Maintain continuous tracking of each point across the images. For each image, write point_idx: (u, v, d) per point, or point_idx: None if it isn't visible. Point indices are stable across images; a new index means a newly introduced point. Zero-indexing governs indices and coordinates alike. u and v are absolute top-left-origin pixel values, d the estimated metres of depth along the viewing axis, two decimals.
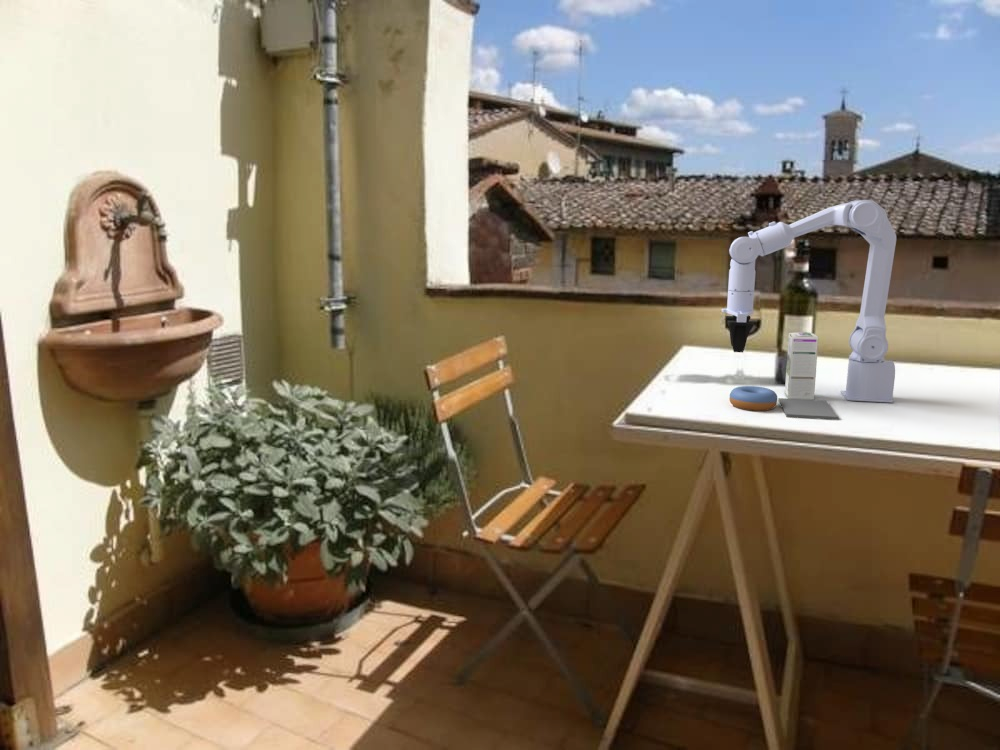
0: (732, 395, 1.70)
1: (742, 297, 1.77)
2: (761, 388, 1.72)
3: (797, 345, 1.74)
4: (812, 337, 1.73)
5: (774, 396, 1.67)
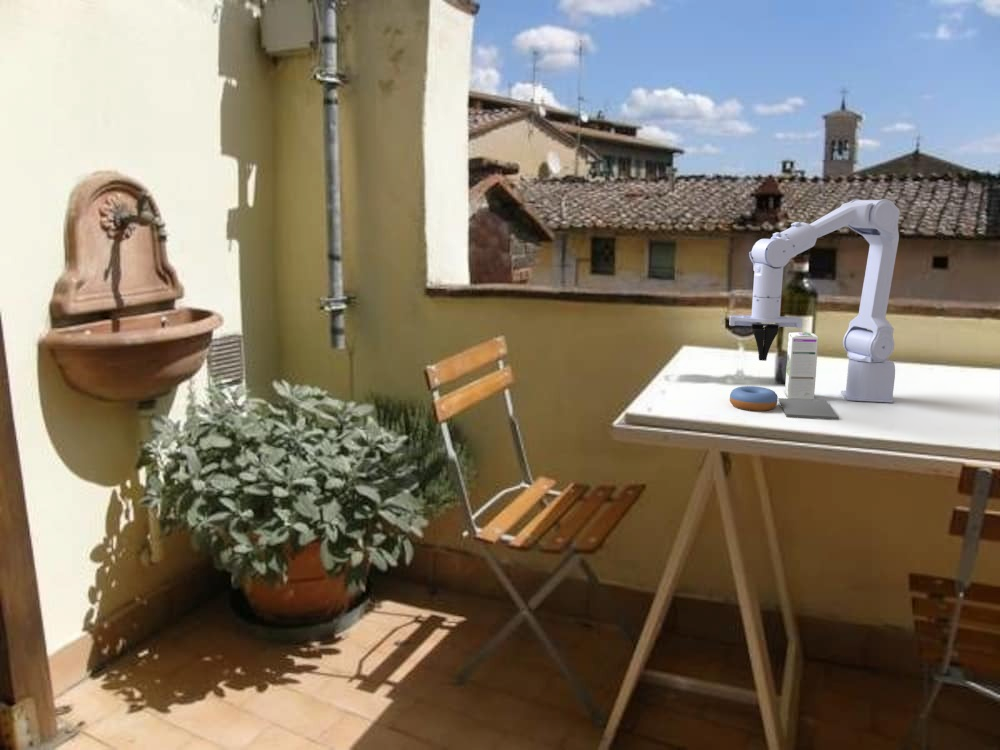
0: (732, 395, 1.70)
1: (752, 302, 1.66)
2: (761, 388, 1.72)
3: (797, 345, 1.74)
4: (812, 337, 1.73)
5: (774, 396, 1.67)
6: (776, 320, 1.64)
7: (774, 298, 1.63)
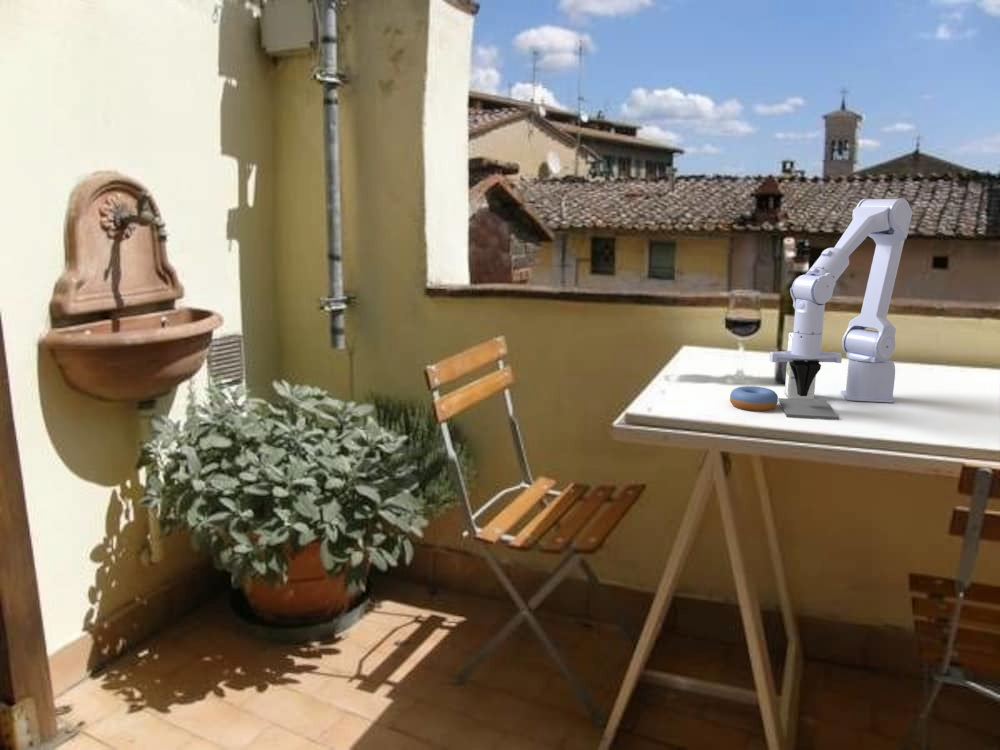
0: (733, 395, 1.70)
1: (793, 338, 1.66)
2: (762, 388, 1.72)
3: None
4: None
5: (775, 396, 1.67)
6: (819, 356, 1.64)
7: (818, 334, 1.63)
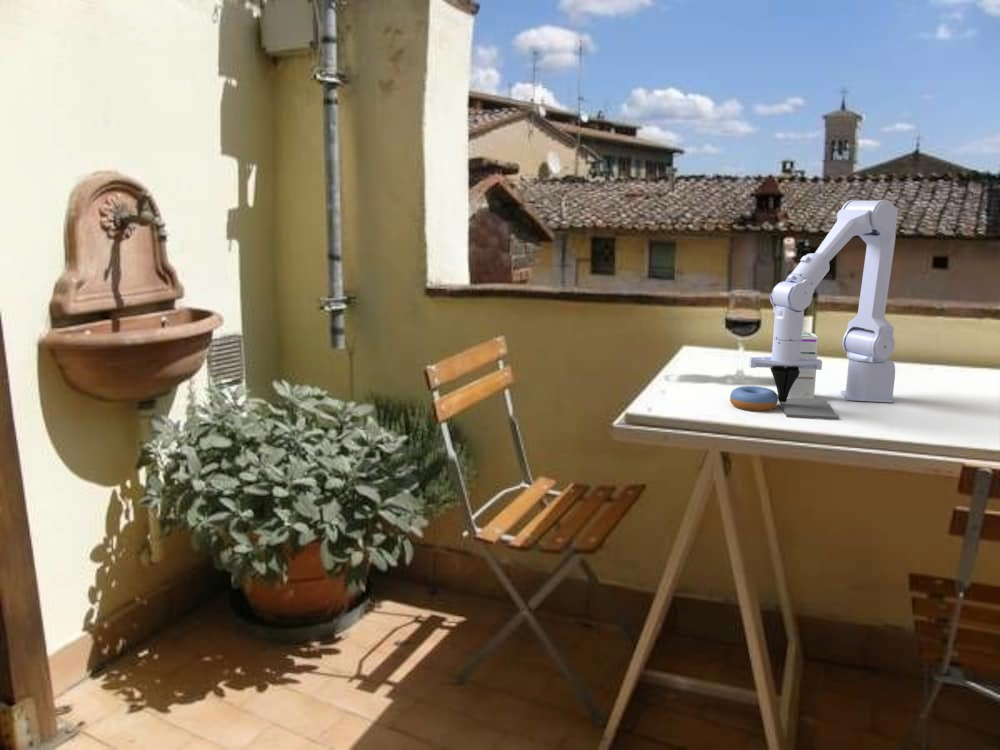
0: (733, 395, 1.70)
1: None
2: (762, 388, 1.72)
3: None
4: (812, 337, 1.73)
5: (775, 396, 1.67)
6: (797, 363, 1.65)
7: (796, 341, 1.64)
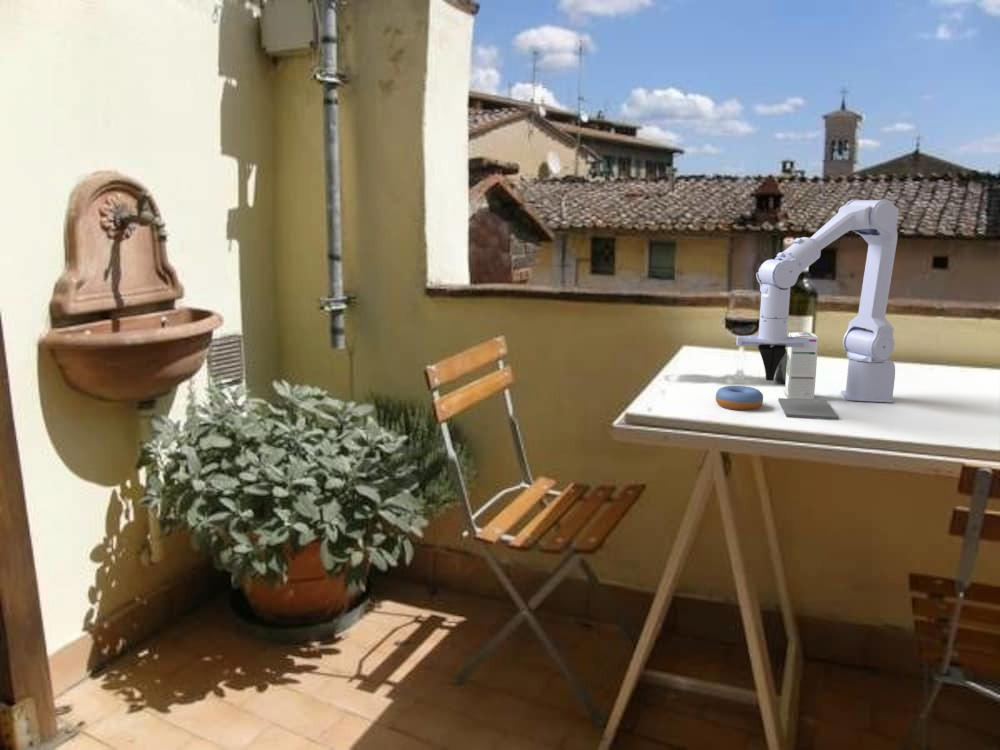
0: (718, 395, 1.70)
1: (759, 323, 1.67)
2: (747, 388, 1.72)
3: None
4: (812, 337, 1.73)
5: (760, 396, 1.68)
6: (783, 341, 1.64)
7: (781, 319, 1.64)
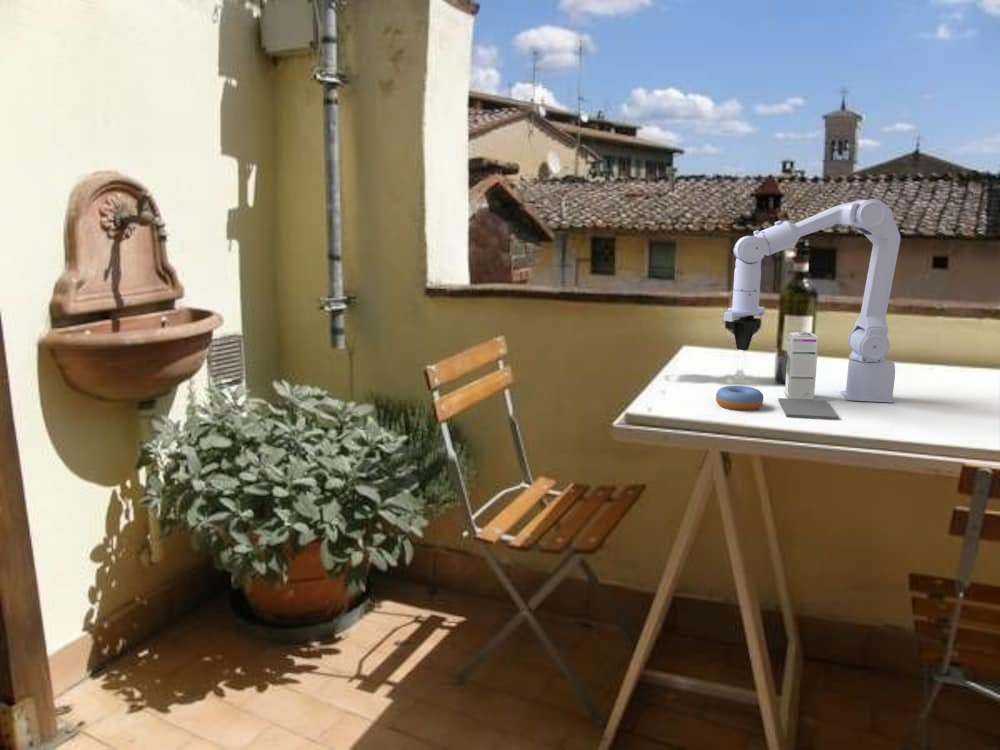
0: (718, 395, 1.70)
1: (740, 297, 1.75)
2: (747, 388, 1.72)
3: (797, 345, 1.74)
4: (812, 337, 1.73)
5: (760, 396, 1.68)
6: (759, 311, 1.77)
7: (759, 291, 1.76)
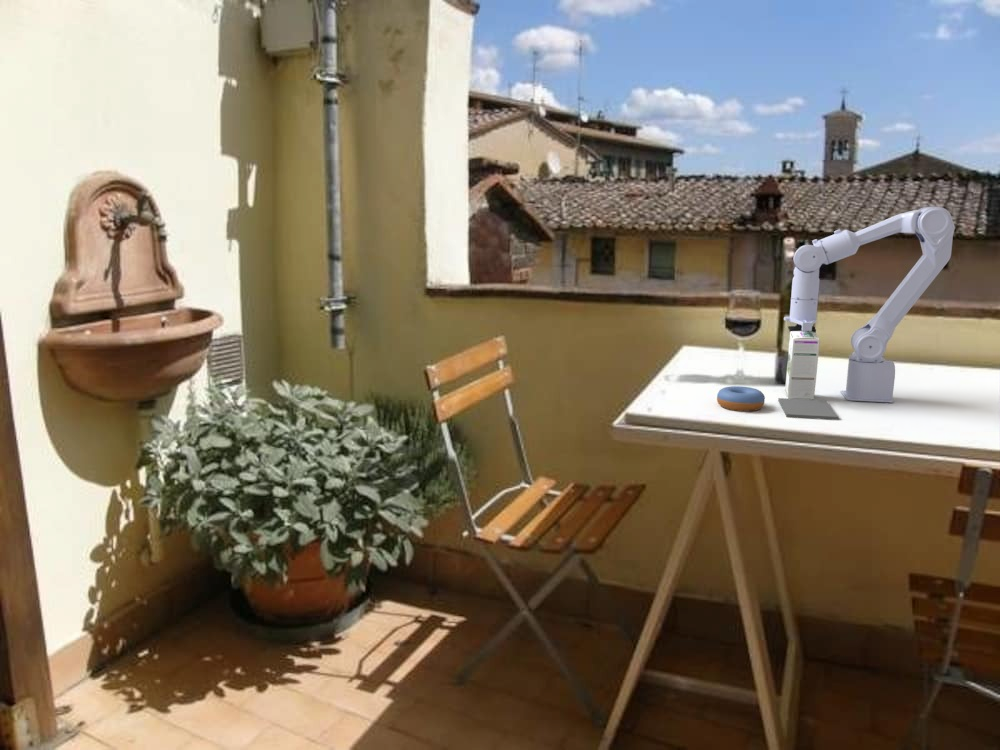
0: (719, 395, 1.70)
1: (806, 306, 1.75)
2: (749, 388, 1.72)
3: (798, 347, 1.73)
4: (813, 339, 1.72)
5: (761, 396, 1.67)
6: None
7: None
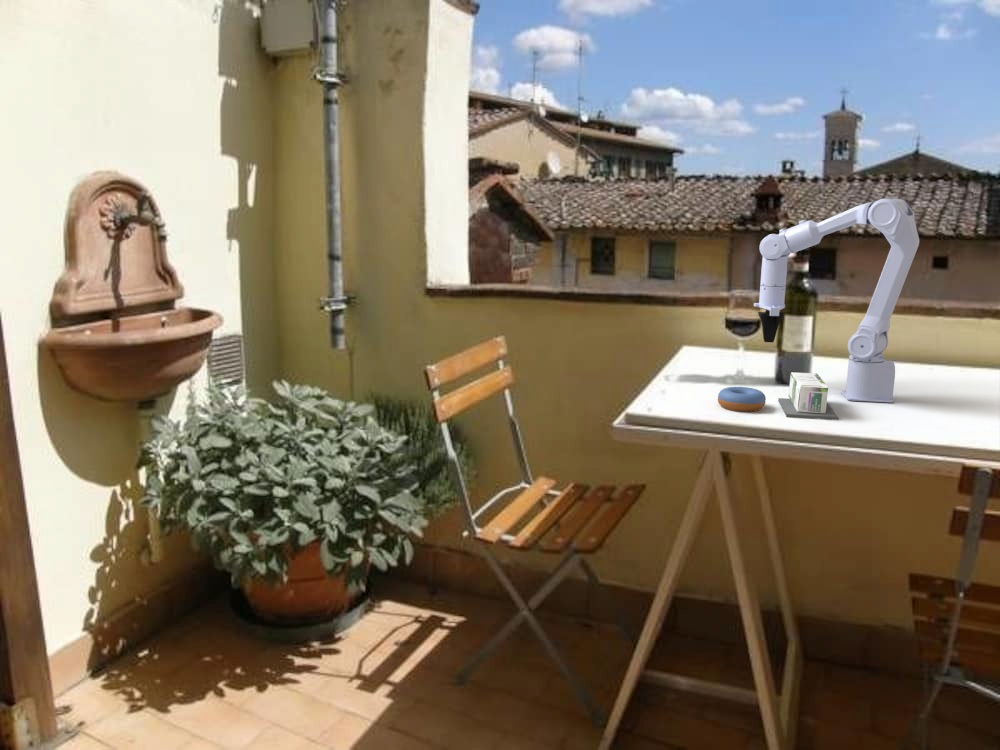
0: (720, 396, 1.69)
1: (774, 292, 1.84)
2: (749, 389, 1.71)
3: None
4: None
5: (762, 397, 1.67)
6: None
7: None
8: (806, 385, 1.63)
